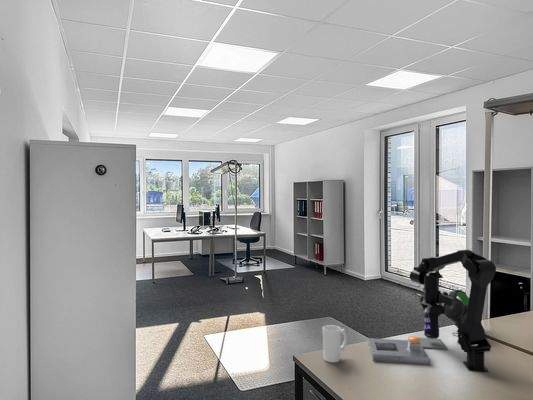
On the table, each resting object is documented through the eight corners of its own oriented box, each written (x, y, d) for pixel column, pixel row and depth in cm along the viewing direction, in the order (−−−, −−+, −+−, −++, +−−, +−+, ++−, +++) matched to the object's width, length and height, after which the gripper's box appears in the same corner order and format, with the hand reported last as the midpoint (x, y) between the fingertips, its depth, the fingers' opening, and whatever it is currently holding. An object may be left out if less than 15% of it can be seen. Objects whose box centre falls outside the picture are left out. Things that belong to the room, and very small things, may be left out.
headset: (460, 359, 162) (465, 312, 183) (492, 355, 153) (494, 306, 174) (435, 329, 160) (444, 285, 181) (466, 323, 151) (471, 277, 172)
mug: (328, 364, 139) (327, 332, 139) (319, 356, 146) (319, 326, 146) (351, 360, 143) (351, 328, 142) (342, 353, 149) (342, 323, 149)
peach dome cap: (421, 347, 145) (421, 340, 144) (409, 346, 145) (409, 340, 145) (418, 343, 149) (418, 336, 149) (407, 342, 150) (407, 335, 150)
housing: (428, 364, 139) (428, 350, 139) (373, 360, 142) (373, 347, 142) (418, 347, 154) (418, 334, 154) (368, 344, 158) (368, 332, 158)
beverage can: (427, 334, 161) (426, 306, 161) (441, 337, 157) (440, 308, 157) (422, 337, 157) (422, 309, 157) (436, 341, 153) (436, 311, 153)
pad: (447, 349, 152) (447, 348, 152) (421, 348, 153) (421, 346, 153) (440, 340, 162) (440, 338, 162) (416, 338, 163) (416, 337, 163)
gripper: (459, 293, 146) (459, 333, 147) (445, 282, 165) (445, 318, 165) (429, 292, 148) (429, 331, 148) (418, 282, 167) (418, 317, 167)
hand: (431, 324), depth 157 cm, fingers closed on beverage can, 6 cm apart
